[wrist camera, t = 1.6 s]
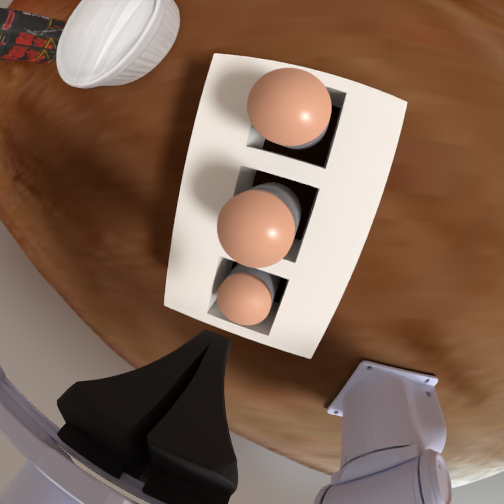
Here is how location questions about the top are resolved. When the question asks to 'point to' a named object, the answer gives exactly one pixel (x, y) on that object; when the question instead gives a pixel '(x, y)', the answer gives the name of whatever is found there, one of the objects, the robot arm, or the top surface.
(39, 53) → the deodorant
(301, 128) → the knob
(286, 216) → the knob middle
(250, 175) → the white egg carton
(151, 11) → the ramekin
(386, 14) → the top surface
